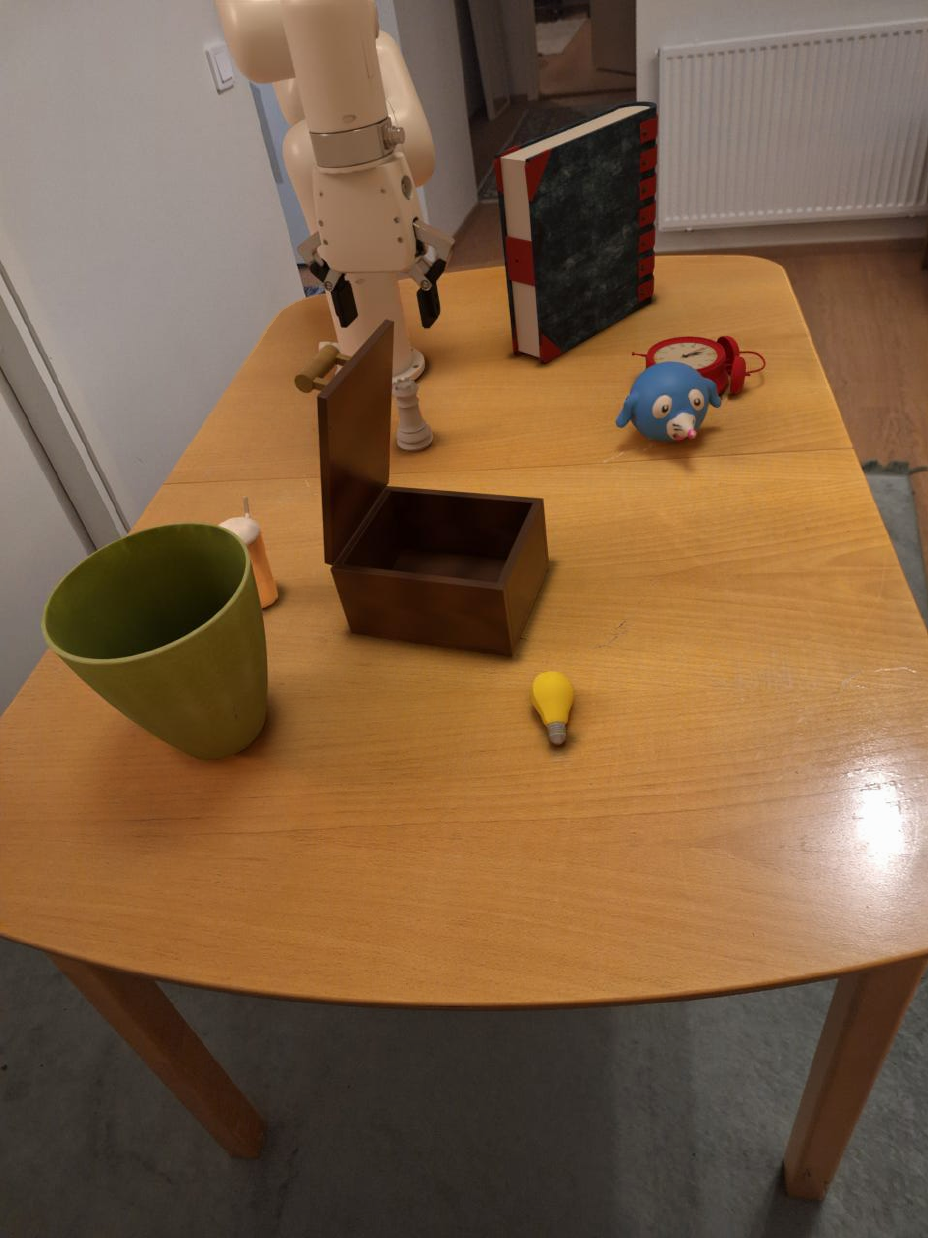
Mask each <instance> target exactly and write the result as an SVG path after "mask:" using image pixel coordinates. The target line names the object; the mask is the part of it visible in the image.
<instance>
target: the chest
mask: <svg viewBox="0 0 928 1238" xmlns="http://www.w3.org/2000/svg"><path fill="white" fill-rule="evenodd" d="M544 499H545V498H543V497H532V496H519V495H518V496H517V495H507V494H492V493H483V492H482V493H481V492H469V491H457V490H442V489H431V488H421V487H420V488H419V487H405V486H393V485H387V486H386V488H385V489H384V491H383V492H382V494H381V495H380V497H379V498H378V500H377V501H376V502H375V504H374V505H373V507H372V508H371V510H370V511H369V513H368V514H367V516H366V517H365V519H364V520H363V522H362V523H361V525H360V526H359V528H358V529H357V530H356V532H355V533H354V535H353V536H352V538H351V539H350V541H349V542H348V544H347V545H346V547H345V548H344V550H343V551H342V553H341V554H340V556H339V557H338V559H337V560H336V561H335V563H334V564H333V566H332V565H331V567H330V568H329V570H330V574H331V576H332V579H333V583H334V585H335V588H336V591H337V595H338V598H339V601H340V604H341V606H342V610H343V613H344V616H345V619H346V622H347V626H348V628H349V631H350V634H352V635H353V634H354V635H360V636H367V637H373V638H380V639H387V640H392V641H399V642H406V643H412V644H413V643H414V644H420V645H427V646H433V647H439V648H447V649H453V650H459V651H460V650H461V651H466V652H467V651H468V652H471V653H480V654H487V655H494V656H500V657H507V658H513V657H514V654H515V652H516V649H517V647H518V644H519V642H520V639H521V636H522V634H523V632H524V629H525V627H526V623H527V622H528V619H529V617H530V615H531V611H532V609H533V606H534V604H535V602H536V599H537V597H538V594H539V591H540V590H541V587H542V584H543V581H544V579H545V576H546V574H547V571H548V570H549V566H550V557H549V548H548V547H549V546H548V538H547V537H548V536H547V523H546V511H545V500H544Z"/></svg>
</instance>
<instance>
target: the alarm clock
mask: <svg viewBox="0 0 928 1238" xmlns="http://www.w3.org/2000/svg"><path fill="white" fill-rule="evenodd" d="M741 354H751V355H756V356H758V357H759V358H760V359H761V360H762V362H763V365H762V366H761V367H760V368H757V369H753V370H748V371H747V361H746V359H745V358H744V357H743V356H741ZM631 356H632V357H634V356H637V357H638V356H639V357H644V358H645V368H644V370H646V369H647V368H649V367H651V366H653V365H655V364H658V363H661V362H669V361H673V362H681V363H684V364H687V365H689V366H691V367H693V368H694V369H695V370H697V371H698V372H699V374H700V375H701V376H702V377H704V378H706V379H710V380H712V381H713V382H714V383H715V384H716V387H717V393H718V395H720V394H721V393H723V392H724V391H725V390H726V389H727V387H728V385H729V391H728V393H729V394H732V395H733V394H737V393H740V391H741V390H742V389H743V387H744V385H745V380H746V377H751V376H752V374H755V373H758V372H760V371H763V370H764V369H765V367H766V365H767V364H766V363H767V362H766V359H765V358H764V356H763V355H762V354H760V353H759V352H758V351H757V352H756V351H752V350H744V351H743V350H740V346H739V344H738V342H737V341H736V340H735V338H734V337H732V336H729V335H722V336H720V337H718V338H717V340H714V339H711V338H707V337H701V336H694V335H693V336H690V335H689V336H687V335H686V336H676V337H675V336H674V337H671V338H667V339H662V340H661V341H658V342H656V343H654V344H653V345H652V346H650V347H649V349H648V350H647V352H646V353H637V352H635V351H632V352H631ZM728 372H729V373H730V372H731V373H730V378H729V374H728Z"/></svg>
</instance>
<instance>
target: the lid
mask: <svg viewBox="0 0 928 1238" xmlns="http://www.w3.org/2000/svg"><path fill="white" fill-rule="evenodd" d="M393 341H394V321H391V320H387V319H385V320H384V321H383V322H382V324H381V325H380V326H379V327H378V328H377V329H376V330H375V331H374V333H373V334H372V335H371V336H370V337H369V338H368V339H367V340H366V341H365V343H364V344H363V345H362V346H361V347H360V348H359V349H358V350H357V352H356V353H355V354H354V355H353V356H352V357H351V356H348V355H344V354H340V352H339V350H338V349H337V348H336V347H335V346H333V345H330V344H329V345H325V346H324V347H323V348H322V349H321V350H320V351H319V350H318V352H317V353H316V354H315V355H314V356H313V357H312V358H311V359H310V360H309V361H308V362H307V363H306V365H304V367H302V368H301V369H300V371H299V372H298V373H297V374H296V375H295V376H294V379H293V382H294V386H295V387H296V389H298V390H299V392H300V393H303V394H309V393H312V392H313V390H316V391H319V392H318V394H317V395H316V405H317V406H316V411H317V430H318V432H317V433H318V450H319V451H318V452H319V453H318V454H319V455H318V456H319V472H320V494H321V495H320V496H321V498H320V499H321V517H322V519H321V520H322V537H323V538H322V539H323V559H324V560H323V561H324V564H326V565H328V566H331V567H332V566H333V564H334V563H335V561H336V560H337V559H338V557H339V556H340V554H341V553H342V551H343V550H344V548H345V547H346V545H347V544H348V542H349V541H350V539H351V538H352V536H353V535H354V533H355V532H356V530H357V529H358V528H359V526H360V525H361V523H362V522H363V520H364V519H365V517H366V516H367V514H368V513H369V511H370V510H371V508H372V507H373V505H374V504H375V502H376V501H377V500H378V498H379V497H380V495H381V494H382V492H383V491H384V489H385V488H386V486H389V483H390V463H391V433H392V432H391V430H392V403H393V402H392V401H393V400H392V399H393V395H392V373H393ZM337 365H340V366H343V367H342V368H341V369H340V371H339V372H338V373H337V374H336V375H335V374H334V376H333V377H332V378H331V379H330V380H329V379H325V377H326V376H327V375H328V374H329V373H330V372H331V371H332V370H333V369H334V368H335V366H337Z"/></svg>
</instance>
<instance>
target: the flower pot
mask: <svg viewBox="0 0 928 1238" xmlns="http://www.w3.org/2000/svg"><path fill="white" fill-rule="evenodd" d="M218 525H219V524H218ZM218 525H217V524H213V523H208V522H199V521H182V522H172V523H165V524H160V525H156V526H151V527H148V528H144V529H141V530H138V531H134V532H132V533H130V534H126V535H125V536H122V537H120V538H118V539H115V540H114V541H111V542H110V543H107V544H106V545H104V546H102V547H100V548H99V549H97V550H95V551H94V552H92V553H91V554H89V555H88V556H86V557H85V558H84V559H82V560H81V561H79V562H78V563H77V564H76V565H75V566H73V568H71V569H70V570H68V572H67V573H66V574H65V575H64V576H63V577H62V578H61V579H60V580H59V582H58V583H57V584H56V585H55V586H54V588H53V590H52V591H51V592H50V594H49V596H48V598H47V600H46V602H45V605H44V608H43V612H42V616H41V621H40V622H41V624H40V626H41V627H40V628H41V633H42V637H43V640H44V641H45V643H46V645H47V646H48V647H49V648H50V649H51V650H52V652H54V653H55V655H56V656H57V657H59V658H60V660H62V662H63V663H64V664H66V666H67V667H69V669H71V671H72V672H74V674H75V675H77V677H79V679H81V680H82V681H83V682H84V683H85V684H86V685H87V686H88V687H90V689H92V690H93V691H94V692H95V693H96V694H97V695H99V696H100V697H101V698H102V699H103V700H105V702H107V703H108V705H110V706H112V707H113V708H114V709H116V710H117V711H118V712H119V713H121V714H122V715H123V716H125V717H126V718H127V719H129V720H130V721H131V722H133V723H135V724H136V725H137V726H139V727H141V729H143V730H145V731H147V732H148V733H149V734H150V735H152V736H154V737H156V738H157V739H159V740H160V741H162V742H164V743H166V744H167V745H169V746H171V747H173V748H175V749H177V750H178V751H180V752H182V753H184V754H186V755H188V756H190V757H192V758H194V759H197V760H200V761H201V760H202V761H217V760H223V759H226V758H229V757H232V756H234V755H236V754H238V753H239V752H241V751H243V750H244V749H246V748H248V746H250V745H251V744H252V743H253V742H254V741H255V740H256V739H257V738H258V736H259V735H260V734H261V732H262V730H263V728H264V725H265V723H266V718H267V709H268V686H269V685H268V684H269V679H268V678H269V675H268V674H269V673H268V670H269V669H268V649H267V639H266V638H267V637H266V629H265V622H264V621H265V620H264V615H263V608H261V603H260V598H259V593H258V589H257V584H256V579H255V575H254V571H253V567H252V563H251V559H250V555H249V551H248V549H247V546H246V545H245V543H244V542H243V540H242V539H241V538H240V537H239V536H238V535H236V534H235V533H234V532H232V531H230V530H228V529H226V528H223V527H221V526H218Z"/></svg>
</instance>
